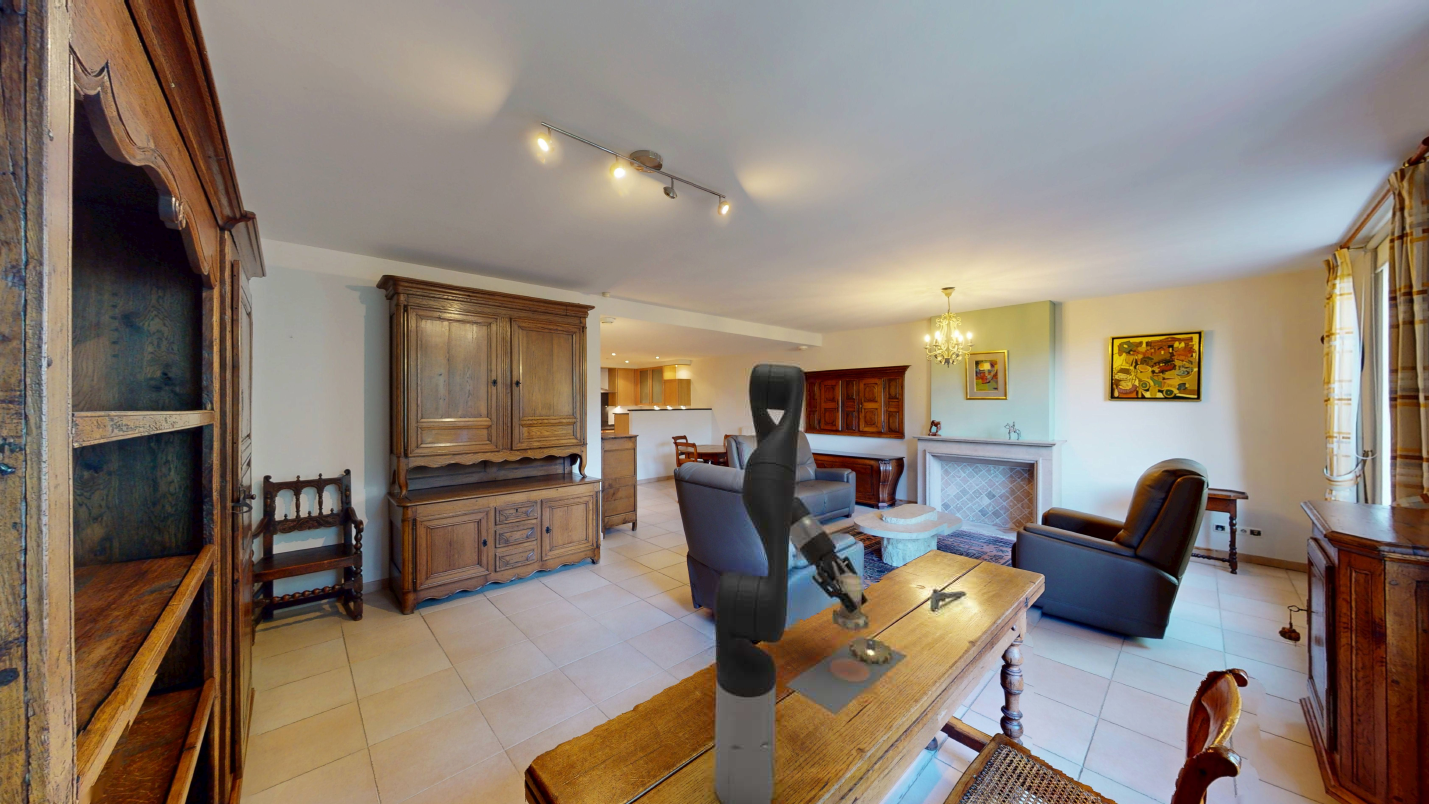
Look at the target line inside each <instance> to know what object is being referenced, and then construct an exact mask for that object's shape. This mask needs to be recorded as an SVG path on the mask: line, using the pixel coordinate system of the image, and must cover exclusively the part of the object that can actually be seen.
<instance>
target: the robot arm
mask: <svg viewBox="0 0 1429 804" xmlns="http://www.w3.org/2000/svg"><path fill="white" fill-rule="evenodd" d="M748 385H749V386H748V397H749V398H748V399H749V405H750V411H751V417H752V423H753V427H754V432H755V438H756V447H755V449H753V451H752V453H751V454H750V455H749V457H748V458H747V460H746V463H745V468H744V475H743V480H742V487H741V499H742V503H743V507H744V508H745V510H746V513H747V515H748V517H749V519H750V521H751V523H752V525H753V527H754V529H755V531H756V532H757V533H756V534H757V535H758V537H759V540H760V542H761V544H762V547H763V550H764V553H765V557H766V560H767V576H763V575H754V574H747V573H738V572H726V573H724V574H723V575H722V576H721V577H720V579H719V580H718V583H717V586H716V590H715V596H714V598H715V599H714V628H715V629H714V631H715V632H714V633H715V668H716V676H715V677H716V681H715V682H716V685H715V688H716V689H715V730H714V731H715V732H714V733H715V734H714V735H715V738H714V739H715V740H714V746H715V747H714V791H715V794H716V796H717V798H718V800H719V801H720V802H721V804H771V803H772V802H771V801H772V799H773V798H774V797H773V796H774V792H775V791H774V789H775V787H774V786H775V784H774V783H775V734H776V733H775V732H776V728H775V726H776V693H777V692H776V688H777V687H776V686H777V685H776V683H777V669H776V667H777V666H776V663H775V660H774V659H773V657H772V655H770V654H769V653H768V652H766V651H765V650H764V649H762V648H761V647H758V646H757V645H755V644H754V643H752V642H751V641H756V642H757V641H758V642H761V643H762V642H763V643H771V644H777V643H778V642H780V641H781V639H782V638H783V636H784V632H785V629H786V623H787V615H788V614H787V613H788V597H789V595H788V593H789V592H788V591H789V560H790V559H789V558H790V557H789V555H790V539H791V540H792V542H793V543H794V544H795V547H796V548H797V549H798V551H799V552H800V554H801V555H802V556H803V558H804V559H805V561H806V562H807V564H808V566H815V570H816V572H815V573H814V574H813V575H812V576H811V578H812V580H813V581H814V582H815V584H816V585H818V586H819V587H820V588H821V590H822V591H824V593H825V594H826V595H827V596H828V597H829V598H830V599H833V598H836V599H839V601H841V602H842V604H843V605H844V607H845V608H846V610H847V611H848V612H849V613H852V612H854V611H855V610H857V608H858V607H857V605H856V604H855V603H854V601H853V600H852V598H851V597H850V595H849V594H848V593H846V590H845V588H844V586H843V584H842V578H841V575H843V574H855V575H858V573H857V571H856V569H855V567H854V565H853V563H852V561H851V560H850V557H849V556H847V555H846V556H844V557H841V556H839V555H838V554H837V552H836V549H837V545H836V543H835V542H834V541H833V540H832V539H831V537H830V536H829V534H828V533H827V531H826V530H825V529H824V527H823V526H822V524H821V523H820V522H819V521H818V520H817V519H816V518H815V516H814V515H813V514H812V513H811V511H810V510H809V509H808V507H807V506H806V504H805V503H804V502H803V500H802V499H801V498H800V497H799V496H795V494H796V493H795V491H796V480H797V479H796V478H797V463H798V445H799V432H800V425H801V419H802V411H803V404H804V398H805V389H806V377H805V373H804V369H802V368H801V367H799V366H797V365H796V366H795V365H789V364H788V365H784V364H771V363H759V364H755V366H754V367H753V368H752V371H751V372H750V377H749V383H748ZM768 410H771V411H783V413H782V416H781V418H780V420H779V421H778V423H776V422H775V420H773V418H772V417H771V414H770V412H769V411H768ZM858 576H859V575H858ZM867 602H868V598H867V597H866V595H865V594H864V592H863V591H862V596H861V607H862V606H864V605H865V604H867Z"/></svg>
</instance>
